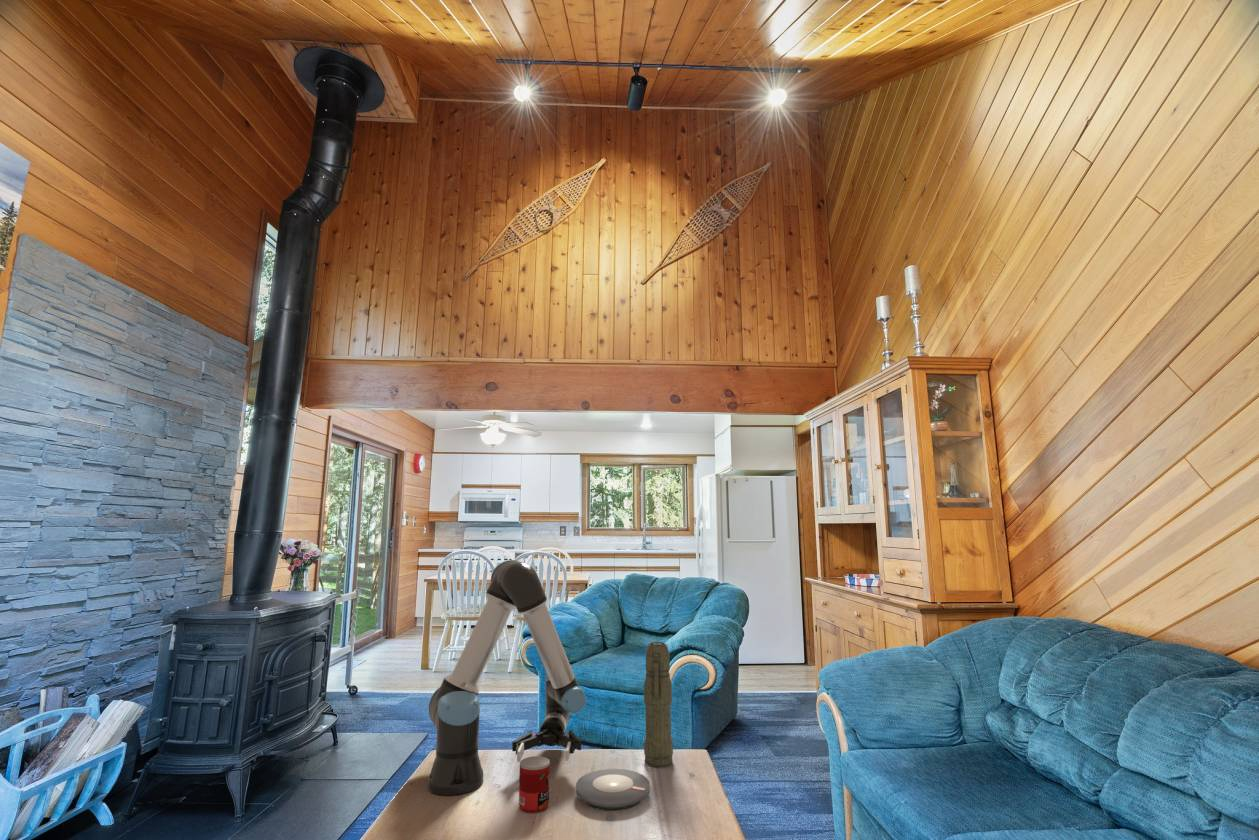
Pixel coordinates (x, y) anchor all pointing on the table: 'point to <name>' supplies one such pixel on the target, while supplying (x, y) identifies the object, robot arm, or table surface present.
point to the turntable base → (612, 807)
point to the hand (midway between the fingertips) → (542, 756)
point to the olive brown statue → (658, 706)
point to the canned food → (534, 784)
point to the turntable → (612, 787)
